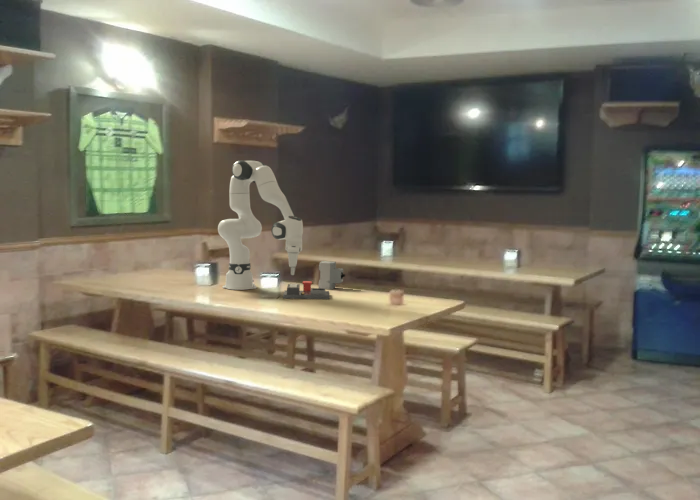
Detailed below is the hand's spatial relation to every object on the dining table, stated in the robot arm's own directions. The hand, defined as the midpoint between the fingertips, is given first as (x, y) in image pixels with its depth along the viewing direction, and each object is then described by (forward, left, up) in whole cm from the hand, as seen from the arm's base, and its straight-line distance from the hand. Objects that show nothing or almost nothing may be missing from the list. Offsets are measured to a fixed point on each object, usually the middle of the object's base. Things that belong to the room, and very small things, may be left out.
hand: (292, 273), depth 361 cm
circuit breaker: (-30, +21, -12) cm, 39 cm away
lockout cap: (-13, +7, -12) cm, 19 cm away
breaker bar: (0, 0, -9) cm, 9 cm away
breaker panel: (0, +7, -12) cm, 14 cm away
